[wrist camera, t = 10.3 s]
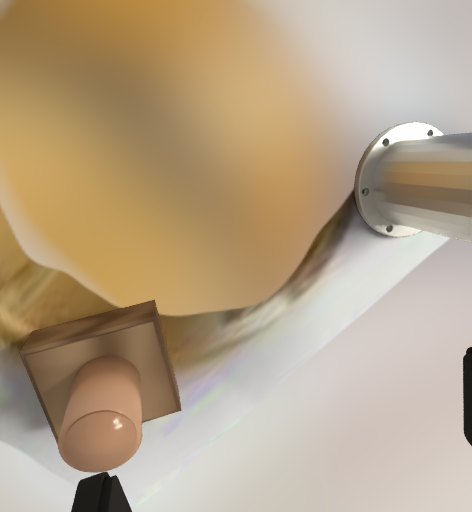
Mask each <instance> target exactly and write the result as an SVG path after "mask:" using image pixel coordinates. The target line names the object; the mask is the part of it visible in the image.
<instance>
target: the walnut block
mask: <svg viewBox="0 0 472 512" xmlns="http://www.w3.org/2000/svg"><path fill="white" fill-rule="evenodd" d="M19 353H20V355H21V358H22V360H23V363H24V365H25V367H26V370H27V372H28V375H29V377H30V379H31V382H32V384H33V387H34V389H35V391H36V394H37V396H38V399H39V401H40V403H41V406H42V408H43V410H44V413H45V415H46V418H47V420H48V422H49V425H50V427H51V430H52V432H53V434H54V437H55V439H56V442H57V444H58V439H59V434H60V431H61V427H62V423H63V420H64V416H65V412H66V409H67V405H68V401H69V398H70V394H71V390H72V387H73V383H74V379H75V377H76V375H77V373H78V372H79V370H80V369H81V368H82V367H83V366H84V365H86V364H87V363H88V362H90V361H92V360H94V359H97V358H100V357H105V356H115V357H120V358H123V359H126V360H128V361H129V362H131V363H132V364H133V365H134V366H135V367H136V368H137V370H138V372H139V374H140V378H141V413H142V423H143V422H146V421H150V420H153V419H156V418H159V417H162V416H165V415H168V414H171V413H175V412H178V411H181V404H180V398H179V391H178V385H177V382H176V378H175V374H174V370H173V367H172V363H171V359H170V355H169V352H168V348H167V344H166V341H165V337H164V333H163V329H162V326H161V322H160V318H159V314H158V311H157V307H156V303H155V300H152V301H148V302H145V303H141V304H137V305H133V306H129V307H125V308H121V309H117V310H114V311H110V312H106V313H102V314H98V315H94V316H90V317H86V318H82V319H79V320H75V321H71V322H67V323H63V324H59V325H55V326H51V327H48V328H44V329H40V330H36V331H33V332H32V333H31V335H30V336H29V338H28V339H27V341H26V342H25V344H24V345H23V347H22V349H21V350H20V352H19Z"/></svg>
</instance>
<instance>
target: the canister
mask: <svg viewBox="0 0 472 512" xmlns="http://www.w3.org/2000/svg"><path fill="white" fill-rule="evenodd" d="M141 440H142V413H141V378H140V374H139V372H138V370H137V368H136V367H135V366H134V365H133V364H132V363H131V362H129V361H128V360H126V359H123V358H120V357H115V356H105V357H100V358H97V359H94V360H92V361H90V362H88V363H87V364H86V365H84V366H83V367H82V368H81V369H80V370H79V372H78V373H77V375H76V377H75V379H74V383H73V387H72V390H71V394H70V398H69V401H68V405H67V409H66V412H65V416H64V420H63V423H62V427H61V431H60V434H59V439H58V449H59V453H60V455H61V457H62V458H63V460H64V461H65V462H66V463H67V464H68V465H70V466H71V467H73V468H75V469H77V470H80V471H84V472H103V471H108V470H111V469H114V468H117V467H118V466H120V465H122V464H124V463H125V462H127V461H128V460H129V459H130V458H131V457H132V456H133V455H134V454H135V453H136V451H137V450H138V448H139V446H140V443H141Z"/></svg>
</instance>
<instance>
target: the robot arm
mask: <svg viewBox="0 0 472 512" xmlns="http://www.w3.org/2000/svg"><path fill="white" fill-rule="evenodd" d="M354 190H355V200H356V204H357V207H358V210H359V212H360V215H361V216H362V218H363V219H364V221H365V222H366V223H367V224H368V225H369V226H370V227H371V228H372V229H374V230H376V231H377V232H379V233H381V234H384V235H387V236H392V237H407V236H411V235H415V234H417V233H419V232H421V231H427V232H431V233H435V234H439V235H443V236H447V237H451V238H455V239H458V240H462V241H466V242H470V243H472V133H461V134H449V135H443V134H442V133H441V132H440V131H439V130H437V129H436V128H435V127H433V126H431V125H428V124H426V123H420V122H412V123H404V124H398V125H395V126H393V127H391V128H389V129H387V130H385V131H384V132H382V133H381V134H379V135H378V136H377V138H375V139H374V140H373V141H372V143H371V144H370V145H369V146H368V148H367V149H366V151H365V152H364V154H363V156H362V158H361V160H360V162H359V165H358V168H357V172H356V176H355V184H354ZM463 385H464V386H463V393H464V394H463V395H464V396H463V398H464V434H465V437H466V439H467V440H468V442H469V443H470V445H471V446H472V347H470V348H468V349H467V351H466V355H465V356H464V358H463ZM71 512H132V510H131V508H130V506H129V503H128V501H127V498H126V496H125V494H124V491H123V489H122V486H121V484H120V482H119V479H118V477H117V476H116V475H115V476H112V477H110V476H109V474H108V473H107V472H103V473H100V474H97V475H94V476H91V477H88V478H85V479H82V480H80V482H79V483H78V486H77V490H76V494H75V498H74V503H73V506H72V511H71Z"/></svg>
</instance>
